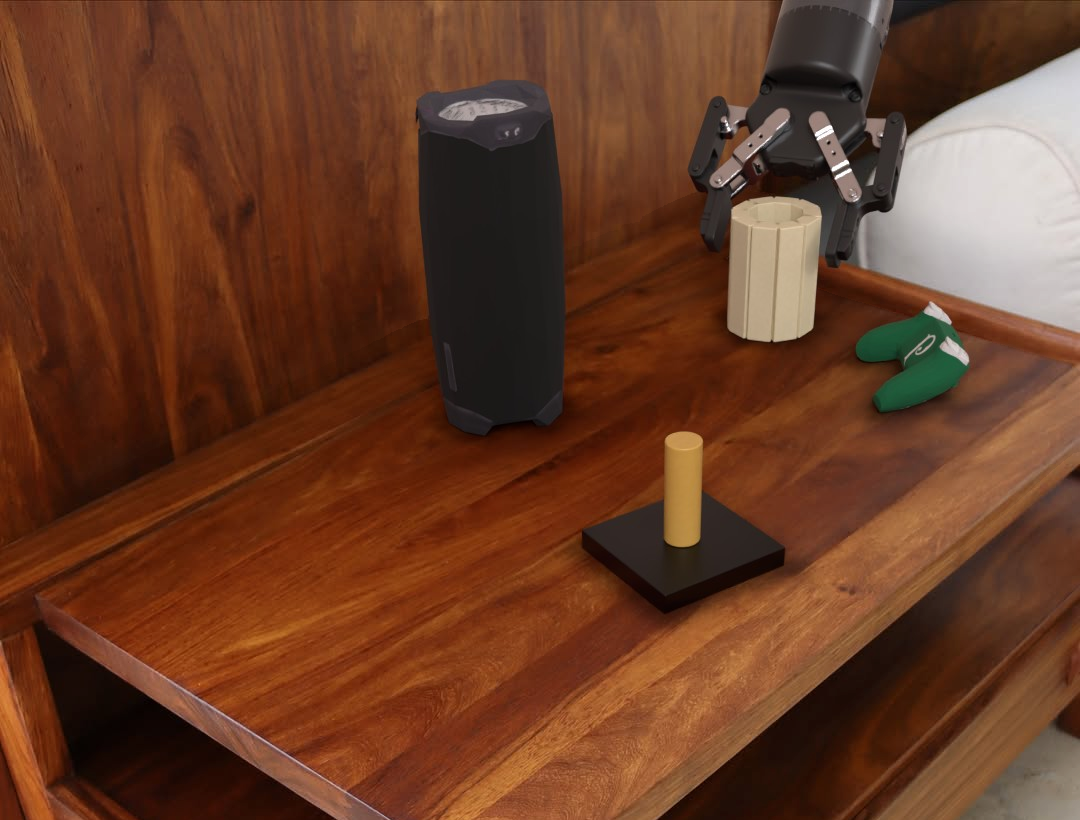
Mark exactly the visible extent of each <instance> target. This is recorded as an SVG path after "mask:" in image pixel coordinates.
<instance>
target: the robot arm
mask: <svg viewBox="0 0 1080 820" xmlns="http://www.w3.org/2000/svg"><path fill="white" fill-rule="evenodd" d="M894 2H895V0H782V3H781V7H780V10H779V13H778V17H777V21H776V25H775V29H774V33H773V35H772V39H771V43H770V47H769V51H768V54H767V55H768V56H767V59H766V63H765V65H764V68H763V69H764V70H763V73H762V77H761V80H760V85H759V89H758V94H757V95H756V97H755V99H754V100H753V101H752V103H750V104H749V106H748V107H746V106H739V105H733V104H728V103H727V101H726V98H725V97H724V96H722V95H716V96H713V97H712V98H711V99H710V100H709V103H708V105H707V108H706V111H705V114H704V117H703V121H702V124H701V127H700V129H699V132H698V135H697V139H696V141H695V144H694V148H693V151H692V154H691V157H690V159H689V162H688V165H687V173H688V175H689V177H690V179H691V181H692V183H693V186H694V187H695V190H696V191H697V192H698V193H705V194H706V195H707V197H706V200H705V205H704V208H703V212H702V215H701V220H700V223H699V227H698V228H699V235H700V237H701V239H702V240H703V243H704V245H705V246H706V248H707V251H708V252H709V253H715V254H720V253H721V251H722V249H723V244H724V240H725V237H726V233H727V230H728V226H729V221H730V220H731V209H733V207H734V205H733V203H732V201H733V200H734V199H735V198H736V197H737V196H739V194H741V193H742V192H743V191H744V190H745V189H746V188H748V187H749V186H754V185H756V184H757V183H758V182H760V181H761V180H762V179H763V178H764V177H765V176H766V175H767V174H768V173H772V175H773V176H774V177H777V178H789V177H799V178H801V179H804V180H807V181H816V182H817V181H818V180H819V178H822V177H824V176H826V175H828V176H829V178H830V180H831V182H832V184H833V186H834V189H835V190H836V193H837V195H839V197H840V200H841V202H842V203H837V205H836V209H835V213H834V217H833V220H832V224H831V228H830V232H829V235H828V240H827V243H826V247H825V251H824V260H825V264H826V266H827V268H830V269H831V268H832V269H839V268H840V266H841V263H842V261H845V262H847V261H848V260H849V259H850V258H851V256H852V254H853V251H854V248H855V243H856V240H857V236H858V232H859V230H860V229H859V228H860V225H861V221H862V219H863V218H864V217H865V216H866V215H867V214H870V213H873V212H879V213H882V214H885V213H889V212H891V211H892V210H893V208H894V206H895V203H896V197H897V191H898V187H899V182H900V176H901V172H902V167H903V162H904V155H905V152H906V147H907V140H908V133H907V125H906V120H905V115H904V114H903V113H902V112H901V111H892V112H890V113H889V114H887V116H886V118H879V117H876V118H875V117H867V109H868V105H869V101H870V98H871V93H872V90H873V87H874V82H875V79H876V75H877V72H878V67H879V64H880V60H881V56H882V52H883V48H884V46H885V44H886V42H887V38H888V35H889V31H890V22H891V18H892V13H893V8H894ZM744 127H745V128H746V127H747V130H748V133H749V136H748V137H747V138H746V139H745V140H744V141H743V142H741V143H739V145H738V146H737V147H735V149H734V150H733V152H732V155H731V157H730V158H729V159H728V160H727V161H726V162H724V163H723V164H722V165H721V166H720V167H719V164H720V161H721V158H722V155H723V152H724V149H725V146H726V144H727V140H729V141H730V140H733V139H734V137H735V136H736V135H737V133H738V131H739V130H740V129H741V128H744ZM867 138H868V139H870V140H871V141H872V146H873V147H872V148H873V150H874V152H875V153H877V154H878V158H877V161H876V166H875V167H876V168H875V172H874V177H873V181H872V184H870V185H864V186H860V184H859V182H858V180H857V178H856V175H855V174H854V172H853V169H852V167H851V165H850V162H849V160H848V157H849V156H850V155H851V154H852V153H853V152H854V151H855V150H857V149H858V148H859V147H860V146H861V145H862V144H863V142H864V141H865V140H866V139H867ZM718 167H719V168H718Z"/></svg>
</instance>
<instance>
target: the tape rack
mask: <svg viewBox="0 0 1080 820" xmlns="http://www.w3.org/2000/svg"><path fill="white" fill-rule="evenodd" d="M703 451H704V440H703V437H702V436H701V435H699V434H698V433H695V432H692V431H676V432H673V433H670V434H669V435H666V437H665V439H664V455H663V456H664V458H663V459H664V460H663V462H664V465H663V467H664V468H663V469H664V470H663V471H664V474H663V499H661V500H658V501H655V502H653V503H651V504H647V505H645V506H642V507H639V508H637V509H633V510H631V511H628V512H626V513H623V514H621V515H618V516H615V517H612V518H610V519H607V520H604V521H601V522H599V523H596V524H594V525H591V526H588V527H585V528H583V529H581V548H582V549H583V550H585V552H587V553H588V554H589V555H591V556H592V557H593V558H594V559H595V560H597V562H599V563H600V564H602V566H604V567H605V568H607V569H608V570H609V571H611V572H612V573H613V574H614V575H616V576H617V577H618V578H619V579H620V580H621V581H623V582H624V583H625V584H627V585H628V586H629V587H630V588H632V589H633V590H634V591H635V592H637V593H638V594H639V595H640V596H642V597H643V598H644V599H645V600H647V601H648V602H649V603H651V604H652V605H653V606H654V607H655V608H657V609H658V610H659V611H660V612H662V613H663V614H664V615H665V614H668V613H671V612H673V611H675V610H678V609H680V608H683V607H685V606H688V605H691V604H693V603H695V602H698V601H700V600H703V599H705V598H708V597H710V596H713V595H715V594H717V593H720V592H722V591H725V590H727V589H729V588H732V587H734V586H737V585H740V584H742V583H744V582H747V581H750V580H753V579H755V578H756V577H759V576H761V575H762V576H763V575H764V574H766V573H769V572H771V571H774V570H776V569H779V568H781V567H784V566H785V559H786V546H784V545H783V544H782V543H780V542H779V541H777V540H775V539H774V538H773V537H772V536H770V535H769V534H767V533H765V532H764V531H763V530H761V529H759V528H758V527H756V526H755V525H753V524H752V523H751V522H749V521H747V519H745V518H743V517H742V516H740V515H739V514H737V513H736V512H735V511H733V510H732V509H730V508H729V507H727V506H726V505H725V504H723V503H722V502H720V501H718V499H716V498H714V497H713V496H711V495H710V494H708V493H707V492H705V491H704V490H702V489H703V459H704V458H703V457H704V455H703V453H704V452H703Z"/></svg>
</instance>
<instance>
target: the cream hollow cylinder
mask: <svg viewBox="0 0 1080 820" xmlns="http://www.w3.org/2000/svg"><path fill="white" fill-rule="evenodd" d="M822 218H823V215H822V211H821V207H820V206H819V205H817V204H815V203H812V202H810V201H809V200H805V199H803V198H802V199H800V198H797V197H796V198H795V197H789V196H787V197H785V196H774V197H773V196H765V197H757V198H756V197H755V198H749V199H748V200H744V201H742V202H741V203H739V204H736V205H735V206H733V207H732V209H731V215H730V227H729V229H730V231H729V256H728V257H729V259H728V281H727V282H728V285H727V308H726V309H727V310H726V326H727V330H728V331H729V332H731V333H733V334H734V335H736V336H738V337H740V338H742V339H746V340H749V341H757V342H764V343H770V342H771V341H772V342H773V343H779V342H784V341H785V342H786V341H791V340H797V339H800V338H801V337H803V336H805V335H807V333H809V332H811V331H812V330H813V329H814V323H815V322H814V321H815V310H816V298H817V297H816V296H817V285H818V283H817V282H818V272H819V271H818V270H819V260H820V259H819V258H820V257H819V256H820V245H821V232H822V221H823V220H822Z"/></svg>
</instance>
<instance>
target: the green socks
mask: <svg viewBox="0 0 1080 820" xmlns="http://www.w3.org/2000/svg"><path fill="white" fill-rule="evenodd" d="M952 323H953V321H952V320H951V318H950V317H949V315H948V314H947V313H946V312H945V311H944V310H943V309H942V308H941V307H940V306H938V305H937V304H935V303H934V302H933V301H931V300H930V301H929V302H928V305H927V306H926V307H925V308H924V309H922V310H921V311H920V312H919V313H918V314H917V315H914V316H912V317H911V318H906V319H902V320H898V321H893V322H890V323H886V324H883V325H881V326H878V327H877V326H876V327H874V328H873V329H871V330H868V331H867V332H865V333H864V334H863V335H862V336H861V337H860V338H859V340H857V342H856V344H855V345H856V346H855V353H856V355H857V357H858V359H859V360H861V361H863V362H871V363H874V362H887V361H888V362H889V361H896V360H897V361H898V360H899V361H900V363H901V366H902V369H903V371H901V372H899V373H898V374H896V375H894V376H893V377H891V378H888V380H886V381H885V382H884V383H883V384H882V385H881V386H880V387H879V388H878V389H877V390H876V391H875V393H874V394H873V396H872V403H873V404H874V405H875V407H876V408H877V410H878V412H879V413H888V412H894V411H898V410H904V409H908V408H911V407H914V406H917V405H919V404H922V403H925V402H927V401H929V400H931V399H934V398H936V397H938V396H940V395H941V394H943V393H945V392H947V391H949V390H950V389H951V390H952V389H953V390H954V388H956V387H957V386H959V381H960V380H961V379H962V377H963V376H964V375H965V374H966V373H967V372H968V371H969V368H970V357H969V354H968V352H966V350H965V347H964V345H963V341H962V339H961V337H960V336H959V334H958V332H957V331H956V329H955V328H954V327H953V325H952Z"/></svg>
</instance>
